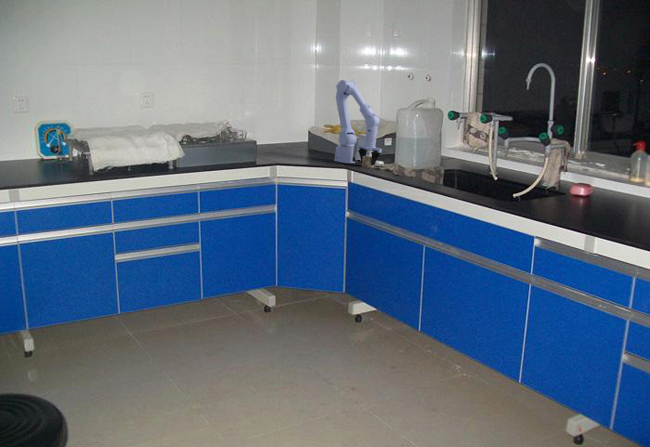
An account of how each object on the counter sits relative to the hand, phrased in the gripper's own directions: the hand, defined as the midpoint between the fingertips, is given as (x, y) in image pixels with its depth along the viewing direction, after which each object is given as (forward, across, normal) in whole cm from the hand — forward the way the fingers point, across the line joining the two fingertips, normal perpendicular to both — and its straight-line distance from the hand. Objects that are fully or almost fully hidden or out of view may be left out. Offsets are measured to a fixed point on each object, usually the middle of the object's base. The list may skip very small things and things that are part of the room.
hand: (367, 164), depth 365 cm
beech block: (+2, 0, 0) cm, 2 cm away
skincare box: (+2, -16, +18) cm, 24 cm away
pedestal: (+1, 0, +9) cm, 9 cm away
